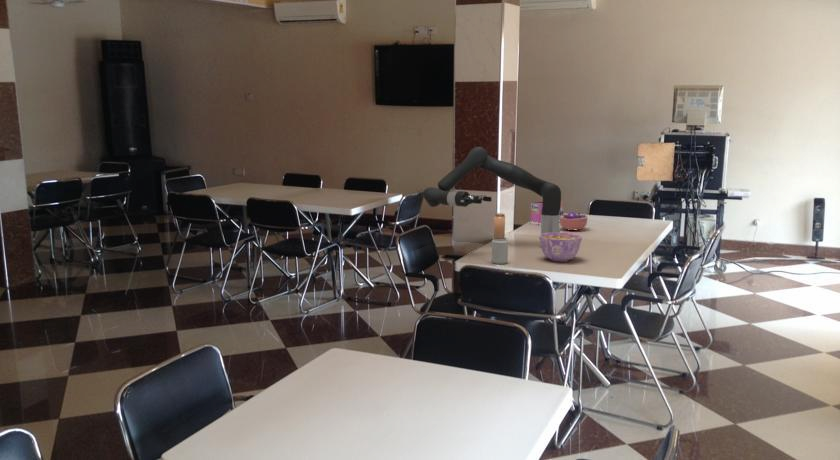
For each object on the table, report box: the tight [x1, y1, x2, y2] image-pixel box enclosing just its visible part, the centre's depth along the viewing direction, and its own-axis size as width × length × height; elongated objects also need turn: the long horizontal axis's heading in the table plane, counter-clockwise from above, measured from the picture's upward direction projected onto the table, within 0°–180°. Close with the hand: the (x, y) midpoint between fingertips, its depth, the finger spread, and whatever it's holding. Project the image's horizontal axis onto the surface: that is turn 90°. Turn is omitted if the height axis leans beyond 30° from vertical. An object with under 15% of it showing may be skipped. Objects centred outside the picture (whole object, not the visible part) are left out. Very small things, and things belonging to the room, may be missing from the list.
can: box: [491, 237, 509, 265], centre depth 325 cm, size 8×8×12 cm
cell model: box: [559, 211, 588, 231], centre depth 416 cm, size 17×20×11 cm
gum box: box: [530, 200, 565, 223], centre depth 443 cm, size 24×8×14 cm, turn 126°
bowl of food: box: [538, 232, 583, 263], centre depth 332 cm, size 20×20×12 cm
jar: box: [493, 212, 506, 238], centre depth 324 cm, size 5×5×11 cm
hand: (486, 200), depth 333 cm, fingers open, 8 cm apart
